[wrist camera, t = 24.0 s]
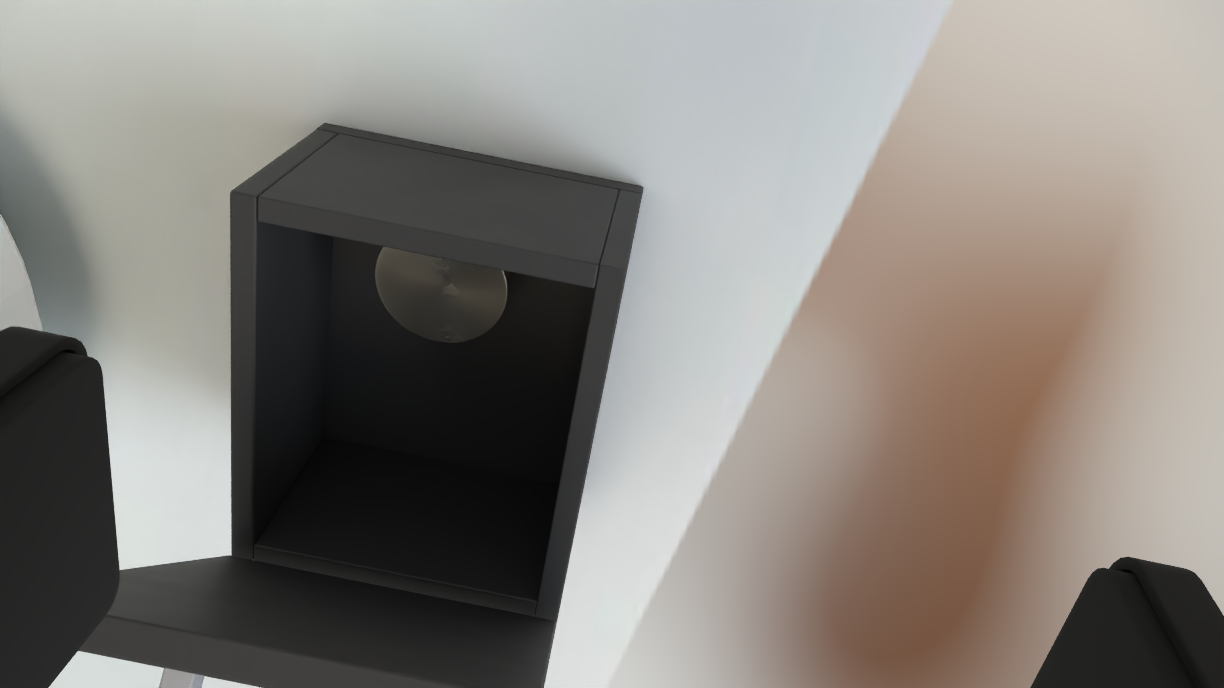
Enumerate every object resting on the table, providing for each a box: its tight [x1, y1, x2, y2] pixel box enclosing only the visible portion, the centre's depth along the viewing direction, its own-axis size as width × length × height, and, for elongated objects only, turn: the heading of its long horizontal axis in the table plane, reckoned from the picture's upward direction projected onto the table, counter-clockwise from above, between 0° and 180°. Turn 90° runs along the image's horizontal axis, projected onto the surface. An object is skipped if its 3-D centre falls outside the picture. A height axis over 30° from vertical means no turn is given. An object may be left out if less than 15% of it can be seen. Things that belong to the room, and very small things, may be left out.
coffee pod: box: [375, 247, 510, 343], centre depth 34 cm, size 4×4×4 cm
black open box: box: [230, 123, 643, 622], centre depth 35 cm, size 14×12×8 cm
